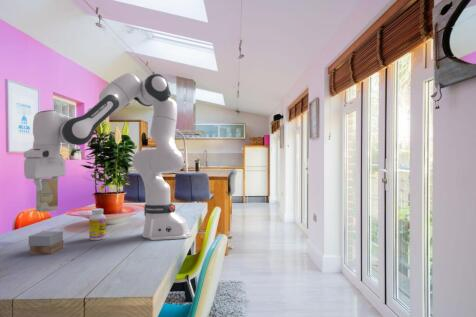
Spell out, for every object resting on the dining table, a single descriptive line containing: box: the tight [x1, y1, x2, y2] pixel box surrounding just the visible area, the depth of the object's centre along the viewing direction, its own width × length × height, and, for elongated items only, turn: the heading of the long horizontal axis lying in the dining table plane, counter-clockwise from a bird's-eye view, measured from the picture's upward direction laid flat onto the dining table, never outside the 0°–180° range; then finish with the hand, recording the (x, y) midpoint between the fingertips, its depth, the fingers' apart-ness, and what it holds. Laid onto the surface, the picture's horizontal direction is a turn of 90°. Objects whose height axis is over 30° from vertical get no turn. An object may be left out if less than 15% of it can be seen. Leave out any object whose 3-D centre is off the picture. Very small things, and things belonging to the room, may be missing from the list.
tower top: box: [28, 230, 64, 247], centre depth 121 cm, size 8×8×4 cm
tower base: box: [29, 239, 64, 255], centre depth 121 cm, size 8×8×4 cm
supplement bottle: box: [88, 208, 107, 241], centre depth 139 cm, size 7×7×13 cm
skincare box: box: [35, 177, 59, 213], centre depth 122 cm, size 6×4×12 cm
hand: (47, 189), depth 122 cm, fingers closed on skincare box, 7 cm apart
